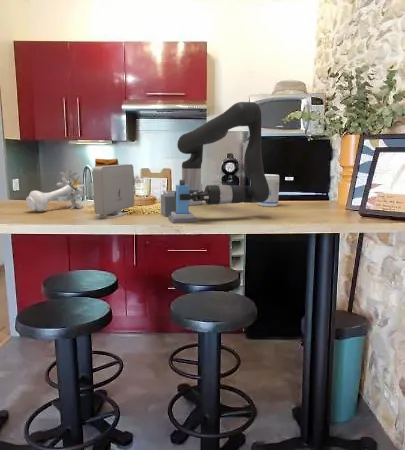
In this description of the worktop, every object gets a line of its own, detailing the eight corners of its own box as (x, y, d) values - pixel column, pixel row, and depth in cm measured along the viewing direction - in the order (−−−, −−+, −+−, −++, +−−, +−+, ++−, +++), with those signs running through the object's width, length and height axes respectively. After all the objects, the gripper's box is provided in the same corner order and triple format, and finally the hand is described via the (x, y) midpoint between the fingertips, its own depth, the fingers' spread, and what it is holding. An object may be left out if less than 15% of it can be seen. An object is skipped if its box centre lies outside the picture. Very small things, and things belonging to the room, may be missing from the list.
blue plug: (176, 216, 165) (175, 179, 162) (186, 215, 166) (186, 179, 163) (178, 217, 161) (178, 180, 158) (188, 217, 162) (188, 180, 159)
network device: (108, 219, 165) (106, 167, 161) (88, 218, 167) (86, 166, 164) (139, 210, 188) (138, 164, 185) (121, 209, 191) (120, 164, 187)
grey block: (161, 213, 181) (160, 190, 179) (181, 212, 183) (181, 190, 181) (165, 216, 172) (164, 193, 170) (187, 215, 175) (187, 192, 173)
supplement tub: (255, 206, 203) (256, 175, 200) (260, 203, 211) (261, 173, 209) (276, 207, 199) (277, 175, 197) (280, 204, 208) (281, 174, 205)
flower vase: (42, 229, 181) (91, 207, 197) (33, 188, 172) (85, 170, 188) (26, 220, 189) (75, 200, 205) (16, 181, 180) (68, 163, 196)
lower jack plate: (168, 219, 166) (168, 211, 166) (190, 218, 169) (190, 210, 168) (173, 223, 158) (173, 215, 157) (196, 222, 160) (196, 214, 160)
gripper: (212, 183, 172) (173, 184, 167) (224, 186, 158) (181, 187, 154) (212, 202, 173) (173, 203, 169) (224, 207, 160) (181, 208, 155)
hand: (177, 195), depth 161 cm, fingers open, 8 cm apart
